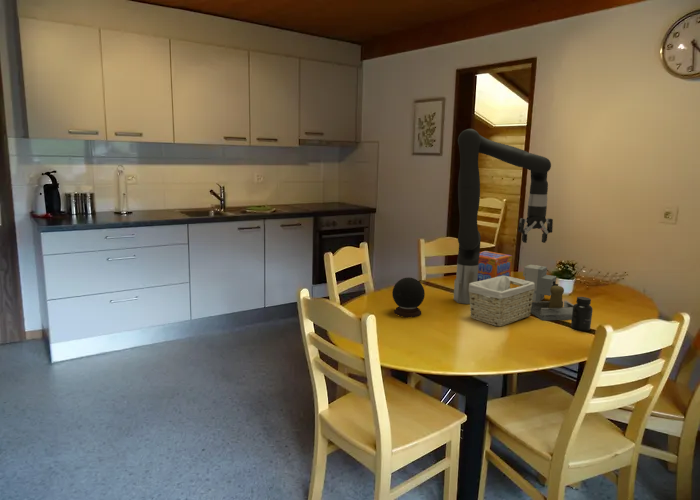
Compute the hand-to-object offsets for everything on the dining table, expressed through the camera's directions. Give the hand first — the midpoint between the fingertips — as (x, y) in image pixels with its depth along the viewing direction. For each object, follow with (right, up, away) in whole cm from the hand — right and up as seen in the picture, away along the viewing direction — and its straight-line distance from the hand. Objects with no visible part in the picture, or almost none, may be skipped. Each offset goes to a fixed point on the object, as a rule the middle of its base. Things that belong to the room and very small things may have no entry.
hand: (534, 242), depth 214 cm
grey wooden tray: (+5, -30, -8) cm, 32 cm away
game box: (-8, -21, +40) cm, 46 cm away
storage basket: (-18, -31, -12) cm, 38 cm away
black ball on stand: (-55, -30, -8) cm, 63 cm away
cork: (+5, -29, -8) cm, 31 cm away
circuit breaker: (+8, -26, +14) cm, 31 cm away
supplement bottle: (+9, -33, -23) cm, 42 cm away
